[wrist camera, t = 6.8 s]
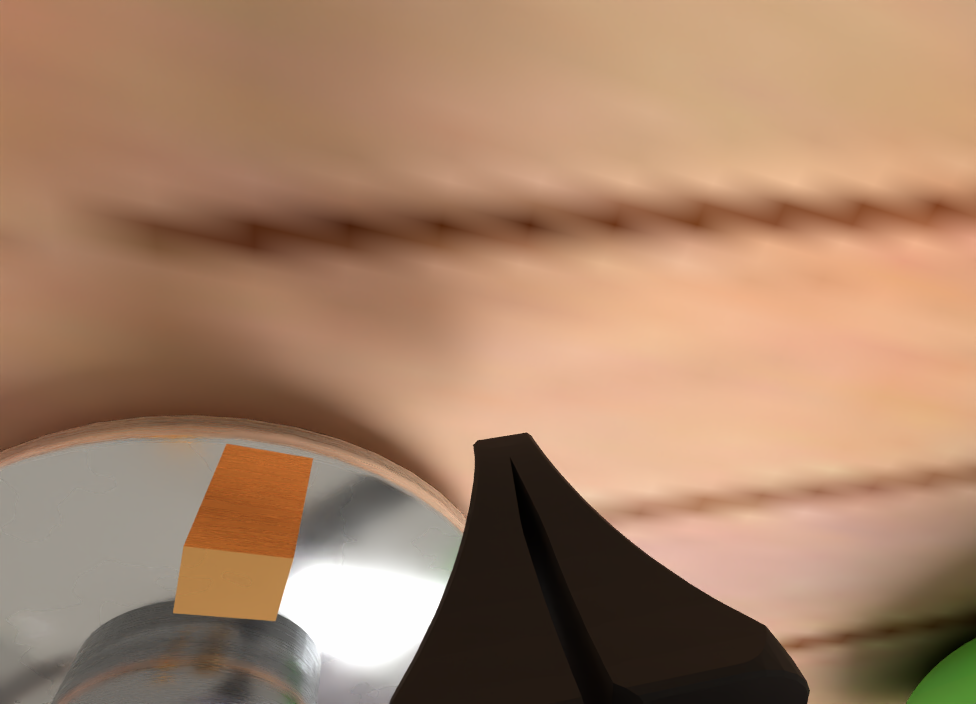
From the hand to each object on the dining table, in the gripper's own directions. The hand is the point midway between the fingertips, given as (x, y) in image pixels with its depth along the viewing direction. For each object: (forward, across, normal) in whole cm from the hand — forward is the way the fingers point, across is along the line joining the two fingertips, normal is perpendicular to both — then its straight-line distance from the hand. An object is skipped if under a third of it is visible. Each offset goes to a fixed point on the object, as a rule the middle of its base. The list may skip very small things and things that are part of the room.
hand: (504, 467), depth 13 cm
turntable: (+2, +9, +7) cm, 12 cm away
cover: (+1, +10, +7) cm, 12 cm away
